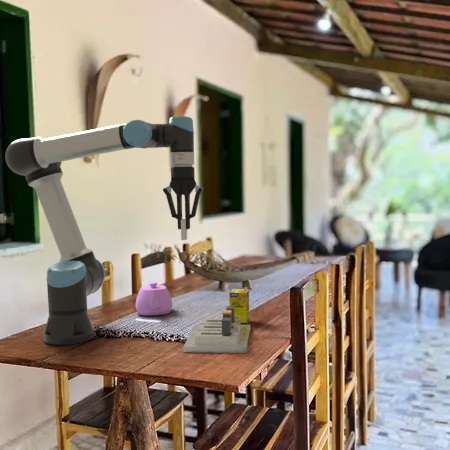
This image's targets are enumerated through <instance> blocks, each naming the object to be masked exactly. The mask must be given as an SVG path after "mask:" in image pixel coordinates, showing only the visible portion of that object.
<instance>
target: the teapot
mask: <svg viewBox="0 0 450 450" xmlns="http://www.w3.org/2000/svg"><path fill="white" fill-rule="evenodd" d="M135 300H136V301H135V310H136V312H137V313H138V314H139V315H140V316H161V315H167V314H170V312H171V311H172V309H173V301H172V297H171V293H170V292H169V290H168V288H167V286H165V285H164V284H163V285H162V284H158V282H149V285H144V286H141V287H140V289H139V291H138V294H137V296H136V299H135Z"/></svg>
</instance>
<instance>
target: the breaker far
mask: <svg viewBox="0 0 450 450" xmlns="http://www.w3.org/2000/svg"><path fill="white" fill-rule="evenodd" d="M225 310H231V311H232V321H234V319H235V309H234V306H230V305H229V306H227V305H226V308H225Z"/></svg>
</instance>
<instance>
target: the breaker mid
mask: <svg viewBox="0 0 450 450" xmlns="http://www.w3.org/2000/svg"><path fill="white" fill-rule="evenodd" d="M222 318H231V325H232V311H231V310H226V309H223V311H222Z"/></svg>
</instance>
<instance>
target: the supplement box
mask: <svg viewBox="0 0 450 450" xmlns="http://www.w3.org/2000/svg"><path fill="white" fill-rule="evenodd" d="M228 297H229V298H228V299H229V306H234V309H235V319H241V325H248V323H249V321H250V289H246V288H245V289H241V288H238V289H237V288H233V289H232V290H231V291H230V292H229V293H228Z"/></svg>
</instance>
